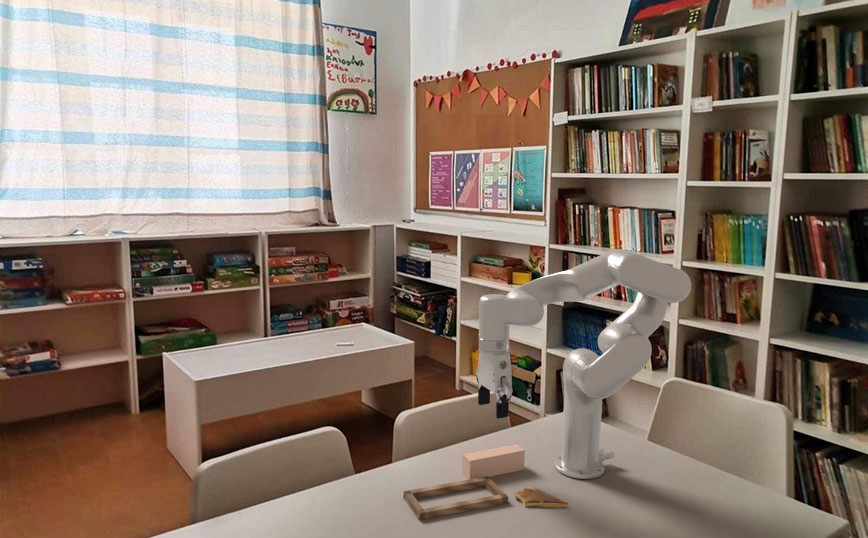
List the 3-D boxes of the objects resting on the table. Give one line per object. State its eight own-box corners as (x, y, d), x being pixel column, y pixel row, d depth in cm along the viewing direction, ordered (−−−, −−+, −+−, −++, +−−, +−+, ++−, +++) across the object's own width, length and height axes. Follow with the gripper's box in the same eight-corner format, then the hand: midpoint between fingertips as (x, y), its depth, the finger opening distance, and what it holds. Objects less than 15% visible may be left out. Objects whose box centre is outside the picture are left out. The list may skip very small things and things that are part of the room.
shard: (568, 509, 147) (568, 502, 147) (547, 520, 142) (547, 513, 142) (531, 491, 155) (531, 484, 155) (510, 501, 150) (510, 494, 150)
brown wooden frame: (487, 482, 158) (487, 476, 158) (507, 502, 148) (508, 496, 148) (403, 497, 150) (403, 491, 150) (419, 520, 140) (419, 513, 140)
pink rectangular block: (515, 463, 169) (516, 444, 168) (523, 470, 166) (524, 450, 165) (461, 474, 162) (462, 454, 162) (469, 481, 159) (470, 460, 158)
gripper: (525, 351, 152) (523, 420, 154) (491, 334, 167) (490, 397, 170) (497, 355, 149) (496, 425, 151) (465, 337, 165) (464, 401, 167)
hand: (492, 410), depth 161 cm, fingers open, 9 cm apart
